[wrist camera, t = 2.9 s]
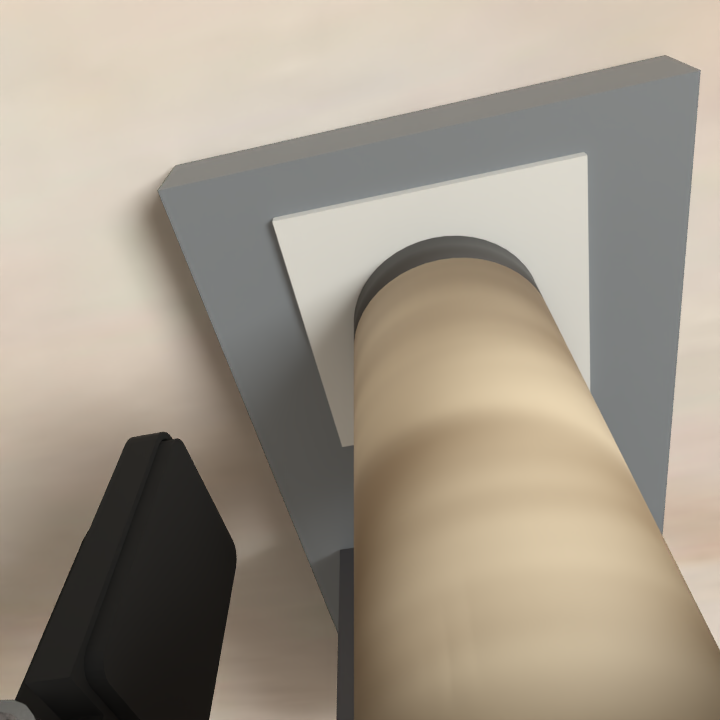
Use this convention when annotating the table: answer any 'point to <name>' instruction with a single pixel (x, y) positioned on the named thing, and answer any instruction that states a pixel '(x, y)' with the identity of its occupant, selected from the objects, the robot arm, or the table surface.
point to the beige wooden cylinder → (502, 515)
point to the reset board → (436, 219)
